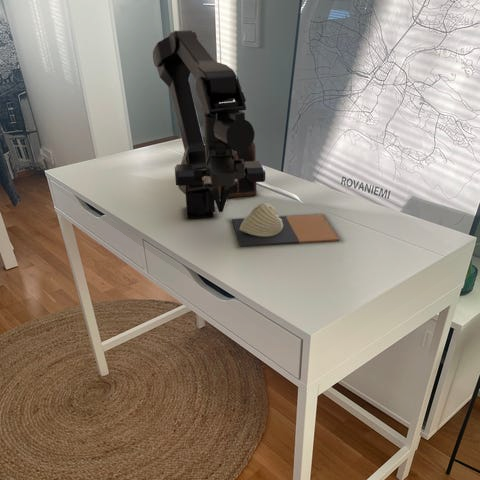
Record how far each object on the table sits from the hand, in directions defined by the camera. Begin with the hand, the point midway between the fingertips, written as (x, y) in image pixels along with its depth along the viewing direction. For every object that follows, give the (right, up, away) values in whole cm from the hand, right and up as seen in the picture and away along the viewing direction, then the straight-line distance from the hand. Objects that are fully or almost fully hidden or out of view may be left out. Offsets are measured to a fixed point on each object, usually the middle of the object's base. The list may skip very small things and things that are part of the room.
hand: (220, 211), depth 107 cm
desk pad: (+14, -3, +5) cm, 15 cm away
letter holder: (+2, +14, +29) cm, 32 cm away
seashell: (+9, -3, +4) cm, 11 cm away
